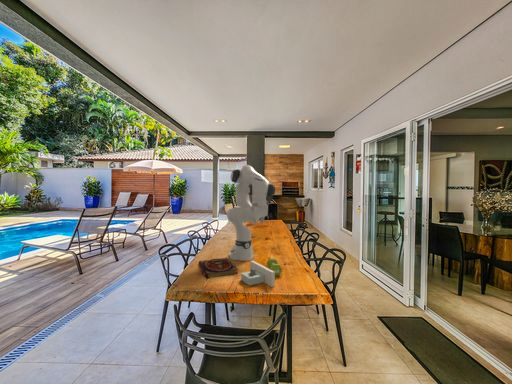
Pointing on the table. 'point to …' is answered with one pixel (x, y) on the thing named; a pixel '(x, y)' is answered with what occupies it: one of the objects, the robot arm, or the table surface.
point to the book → (217, 267)
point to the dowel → (252, 272)
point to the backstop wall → (264, 273)
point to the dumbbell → (274, 266)
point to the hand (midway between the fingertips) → (258, 224)
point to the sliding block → (252, 278)
